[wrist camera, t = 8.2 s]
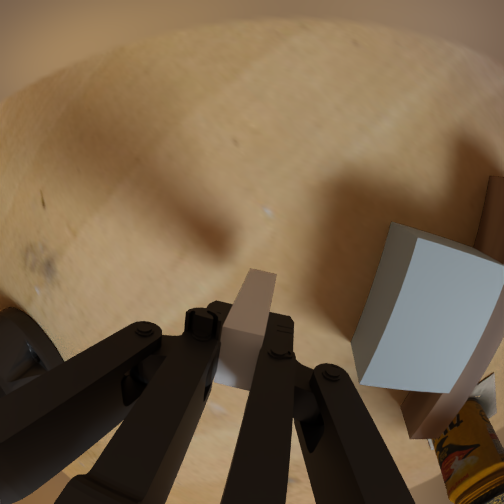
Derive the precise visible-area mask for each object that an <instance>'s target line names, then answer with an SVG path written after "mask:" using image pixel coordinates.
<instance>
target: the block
mask: <svg viewBox="0 0 504 504" xmlns="http://www.w3.org/2000/svg"><path fill="white" fill-rule="evenodd" d="M503 285H504V264H502V263H500V262H498V261H497V260H495V259H493V258H491V257H489V256H488V255H486V254H484V253H482V252H480V251H478V250H477V249H475V248H473V247H470V246H467V245H464V244H461V243H458V242H456V241H453V240H450V239H447V238H443V237H440V236H437V235H434V234H431V233H428V232H425V231H422V230H418V229H415V228H412V227H408V226H405V225H402V224H398V223H395V222H392V221H391V225H390V228H389V232H388V236H387V239H386V243H385V246H384V250H383V253H382V256H381V259H380V263H379V266H378V269H377V272H376V275H375V278H374V281H373V284H372V287H371V290H370V293H369V296H368V299H367V301H366V304H365V307H364V310H363V312H362V315H361V318H360V320H359V323H358V325H357V328H356V331H355V333H354V336H353V338H352V340H351V346H352V351H353V356H354V360H355V365H356V370H357V375H358V380H359V384H360V385H367V386H375V387H382V388H391V389H400V390H410V391H421V392H435V393H449V392H450V391H451V389H452V388H453V386H454V385H455V383H456V381H457V380H458V378H459V376H460V375H461V373H462V371H463V370H464V368H465V366H466V364H467V363H468V361H469V359H470V357H471V355H472V353H473V352H474V350H475V348H476V346H477V344H478V342H479V340H480V338H481V336H482V334H483V332H484V330H485V328H486V326H487V323H488V321H489V319H490V317H491V314H492V312H493V310H494V307H495V305H496V303H497V300H498V298H499V295H500V293H501V290H502V287H503Z"/></svg>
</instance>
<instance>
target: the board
mask: <svg viewBox="0 0 504 504" xmlns="http://www.w3.org/2000/svg"><path fill="white" fill-rule="evenodd" d="M473 248H475V249H477V250H478V251H480V252H482V253H484V254H486V255H488V256H489V257H491V258H493V259H495V260H497V261H498V262H500V263H502V264H504V177H496V176H490V177H489V183H488V189H487V194H486V199H485V204H484V209H483V213H482V217H481V221H480V225H479V229H478V233H477V237H476V240H475V244H474V247H473ZM503 337H504V285H503V287H502V290H501V293H500V295H499V298H498V300H497V303H496V305H495V307H494V310H493V312H492V314H491V317H490V319H489V321H488V323H487V326H486V328H485V330H484V332H483V334H482V336H481V338H480V340H479V342H478V344H477V346H476V348H475V350H474V352H473V353H472V355H471V357H470V359H469V361H468V363H467V364H466V366H465V368H464V370H463V371H462V373H461V375H460V376H459V378H458V380H457V381H456V383H455V385H454V386H453V388H452V389H451V391H450V392H449V393H435V392H421V391H410V392H409V394H408V396H407V397H406V399H405V401H404V402H403V404H402V405H401V410H402V414H403V417H404V420H405V424H406V427H407V431H408V434H409V438H410V439H438V438H439V437H440V436H441V434H442V433H443V432H444V431H445V429H446V428H447V427H448V426H449V424H450V423H451V422H452V420H453V419H454V418H455V416H456V415H457V414H458V412H459V411H460V409H461V408H462V407H463V405H464V404H465V402H466V401H467V399H468V398H469V396H470V395H471V393H472V392H473V390H474V389H475V387H476V385H477V384H478V382H479V381H480V379H481V377H482V376H483V374H484V372H485V371H486V369H487V367H488V365H489V364H490V362H491V360H492V358H493V356H494V354H495V353H496V351H497V349H498V347H499V345H500V343H501V341H502V339H503Z"/></svg>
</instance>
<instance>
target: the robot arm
mask: <svg viewBox="0 0 504 504" xmlns="http://www.w3.org/2000/svg"><path fill="white" fill-rule="evenodd" d="M276 276H277V274H274V273H270V272H265V271H260V270H256V269H251V268H250V270H249V272H248V274H247V276H246V278H245V281H244V283H243V285H242V287H241V289H240V291H239V293H238V295H237V297H236V299H235V301H234V303H233V304H229V303H225V302H221V301H217V300H216V301H214V302H212V303H210V304H209V305H208V306H207V308H193V309H189V310H188V311H187V312H186V317H185V329H184V332H183V334H182V335H180V336H169V335H162V330H161V328H160V327H159V326H158V325H156V324H154V323H151V322H146V321H140V322H135V323H132V324H130V325H128V326H127V327H125V328H123V329H121V330H120V331H118V332H116V333H114V334H113V335H111V336H109V337H107V338H106V339H104V340H102V341H100V342H99V343H97V344H95V345H93V346H92V347H90V348H88V349H86V350H85V351H83V352H81V353H79V354H77V355H76V356H74V357H72V358H70V359H69V360H67V361H65V362H63V360H62V358H61V356H60V355H59V353H58V352H57V350H56V348H55V347H54V346H53V344H52V343H51V341H50V340H49V339H48V337H47V336H46V335H45V333H44V332H43V331H42V330H41V329H40V327H39V326H38V325H37V324H36V323H35V322H34V321H33V320H32V319H31V318H30V317H29V316H27V315H26V314H25V313H23V312H22V311H20V310H18V309H16V308H12V307H9V308H6V309H4V310H3V311H1V312H0V504H12V503H14V502H17V501H19V500H21V499H23V498H25V497H26V496H28V495H30V494H31V493H33V492H34V491H35V490H37V489H38V488H39V487H41V486H42V485H43V484H44V483H46V482H47V481H49V480H50V479H51V478H53V477H54V476H55V475H56V474H58V473H59V472H60V471H62V470H63V469H64V468H65V467H67V466H68V465H69V464H70V463H72V462H73V461H74V460H75V459H77V458H78V457H79V456H80V455H82V454H83V453H84V452H85V451H87V450H88V449H89V448H90V447H92V446H93V445H94V444H95V443H96V442H98V441H99V440H100V439H101V438H103V437H104V436H105V435H106V434H107V433H109V432H110V431H111V430H112V429H113V428H115V427H116V426H117V425H118V424H119V423H121V422H122V421H123V420H124V421H123V422H122V424H121V425H120V427H119V428H118V430H117V431H116V433H115V434H114V436H113V437H112V439H111V440H110V442H109V443H108V445H107V446H106V448H105V449H104V451H103V452H102V454H101V455H100V457H99V458H98V460H97V461H96V463H95V464H94V466H93V467H92V469H91V470H90V471H89V472H88V473H87V474H83V475H76V476H75V477H73V478H72V479H71V480H70V481H69V482H68V484H67V485H66V486H65V488H64V489H63V491H62V492H61V494H60V495H59V497H58V498H57V500H56V501H55V503H54V504H165V502H166V500H167V498H168V495H169V493H170V490H171V488H172V485H173V483H174V481H175V478H176V476H177V473H178V471H179V469H180V466H181V464H182V461H183V459H184V456H185V454H186V451H187V449H188V447H189V444H190V442H191V439H192V437H193V434H194V432H195V429H196V427H197V424H198V422H199V419H200V417H201V414H202V412H203V410H204V407H205V405H206V402H207V400H208V397H209V395H210V392H211V388H212V381H213V379H214V376H215V379H214V382H216V383H220V384H223V385H227V386H232V387H236V388H240V389H244V390H249V391H250V392H249V396H248V400H247V403H246V407H245V411H244V416H243V420H242V424H241V428H240V432H239V436H238V439H237V443H236V447H235V451H234V455H233V459H232V462H231V466H230V470H229V473H228V477H227V481H226V485H225V488H224V492H223V495H222V499H221V502H220V504H285V503H286V493H287V483H288V473H289V461H290V449H291V436H292V421H293V418H294V424H295V428H296V431H297V435H298V439H299V443H300V446H301V450H302V454H303V457H304V461H305V465H306V468H307V472H308V476H309V479H310V483H311V487H312V491H313V494H314V498H315V502H316V504H415V502H414V500H413V498H412V496H411V494H410V492H409V490H408V488H407V486H406V484H405V482H404V480H403V478H402V476H401V474H400V472H399V470H398V468H397V466H396V464H395V462H394V460H393V458H392V456H391V454H390V452H389V450H388V448H387V446H386V444H385V442H384V440H383V439H382V437H381V435H380V433H379V431H378V429H377V427H376V425H375V423H374V421H373V419H372V418H371V416H370V414H369V412H368V410H367V408H366V406H365V404H364V403H363V401H362V399H361V397H360V395H359V393H358V391H357V390H356V388H355V386H354V384H353V382H352V380H351V378H350V377H349V375H348V373H347V372H346V371H345V370H344V369H342V368H341V367H339V366H337V365H334V364H328V363H325V364H320V365H318V366H316V367H315V369H311V368H308V367H306V366H304V365H302V364H301V363H299V362H298V361H297V360H296V356H295V353H294V352H293V338H294V335H293V334H294V322H293V320H292V319H291V317H290V316H286V315H282V314H277V313H272V312H269V311H270V306H271V301H272V296H273V291H274V286H275V281H276Z"/></svg>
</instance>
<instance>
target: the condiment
mask: <svg viewBox="0 0 504 504" xmlns="http://www.w3.org/2000/svg"><path fill="white" fill-rule="evenodd" d="M479 395H481V396H480V397H478V396H479ZM475 396H477V397H475ZM496 413H497V409H496V392H495V374H492V375H491V376H490V377H489V378H487V379H486V380H484V381H482V382H481V383H480V384H479V385H477V386H476V387H475V389H474V390H473V392H472V393H471V395H470V396H469V398H468V399H467V401H466V402H465V404H464V405H463V407H462V408H461V409H460V411H459V412H458V414H457V415H456V416H455V418H454V419H453V420H452V422H451V423H450V424H449V426H448V427H447V428H446V429H445V431H444V432H443V433H442V434H441V436H440V437H439V438H438V439H428V441H429V444H430V447H431V450H433V449H435V452H436V455H437V459H438V463H439V466H440V469H441V472H442V475H443V479H444V483H445V486H446V489H447V494H448V498H449V500H450V501H451V502H453V503H454V504H502V503H503V502H504V448H503V447H502V445H501V443H500V441H499V439H498V437H497V435H496V433H495V431H494V429H493V426H492V425H491V423H490V421H489V418H490V417H492V416H493V415H495V414H496Z"/></svg>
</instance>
